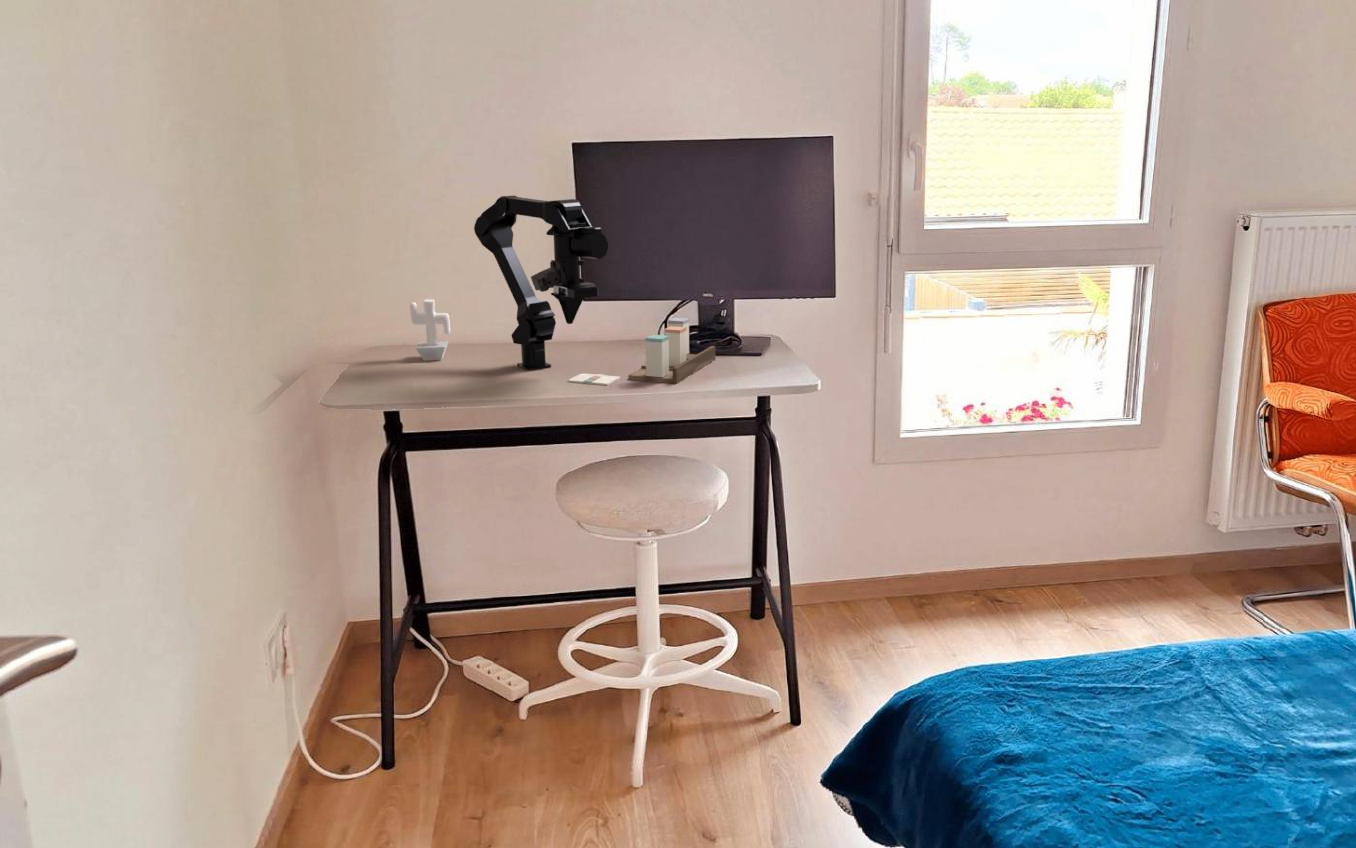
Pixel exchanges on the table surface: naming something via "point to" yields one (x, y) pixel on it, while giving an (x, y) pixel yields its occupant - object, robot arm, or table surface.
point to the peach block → (676, 344)
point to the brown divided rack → (679, 368)
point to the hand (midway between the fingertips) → (569, 323)
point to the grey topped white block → (681, 323)
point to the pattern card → (594, 379)
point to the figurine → (430, 330)
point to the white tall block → (657, 355)
